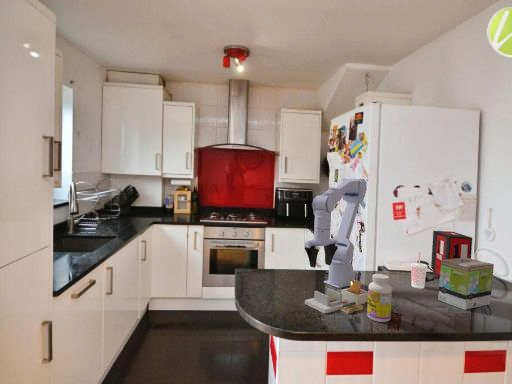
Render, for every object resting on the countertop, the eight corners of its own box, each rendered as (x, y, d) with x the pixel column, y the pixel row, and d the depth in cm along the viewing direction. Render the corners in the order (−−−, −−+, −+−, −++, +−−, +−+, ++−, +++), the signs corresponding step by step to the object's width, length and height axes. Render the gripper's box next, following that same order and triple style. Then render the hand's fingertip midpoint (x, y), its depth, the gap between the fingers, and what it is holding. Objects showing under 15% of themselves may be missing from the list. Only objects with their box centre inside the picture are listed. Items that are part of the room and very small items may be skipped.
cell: (350, 296, 112) (350, 278, 112) (360, 298, 111) (361, 279, 111) (349, 299, 109) (350, 281, 109) (359, 301, 108) (360, 282, 108)
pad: (327, 297, 107) (327, 294, 107) (336, 301, 104) (336, 298, 104) (319, 299, 105) (319, 296, 105) (328, 303, 102) (328, 300, 102)
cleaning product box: (469, 285, 134) (472, 237, 133) (446, 283, 135) (449, 236, 134) (450, 274, 150) (453, 231, 149) (430, 272, 151) (433, 230, 150)
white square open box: (354, 295, 115) (354, 286, 115) (370, 302, 109) (370, 292, 109) (341, 298, 111) (341, 289, 111) (357, 305, 105) (357, 296, 105)
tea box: (466, 311, 104) (469, 266, 104) (437, 300, 113) (439, 259, 113) (491, 304, 111) (494, 262, 111) (462, 295, 120) (464, 256, 120)
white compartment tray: (330, 297, 112) (330, 285, 112) (350, 306, 104) (351, 293, 104) (304, 303, 105) (305, 291, 105) (324, 313, 98) (325, 300, 97)
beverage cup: (409, 287, 127) (411, 252, 126) (408, 283, 133) (410, 249, 132) (427, 290, 125) (429, 254, 124) (425, 285, 130) (427, 251, 130)
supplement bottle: (363, 313, 99) (365, 272, 99) (383, 313, 100) (385, 272, 99) (372, 323, 92) (375, 279, 92) (394, 323, 93) (397, 279, 92)
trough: (354, 305, 105) (354, 300, 105) (362, 309, 102) (362, 303, 102) (339, 309, 101) (339, 304, 101) (347, 313, 98) (347, 307, 98)
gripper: (328, 226, 123) (326, 261, 123) (299, 227, 115) (298, 265, 115) (342, 228, 117) (340, 265, 117) (313, 230, 109) (311, 270, 109)
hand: (320, 265), depth 116 cm, fingers open, 7 cm apart
